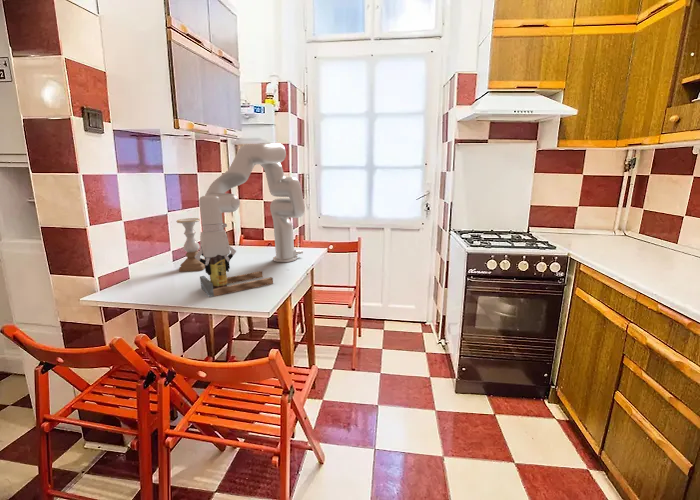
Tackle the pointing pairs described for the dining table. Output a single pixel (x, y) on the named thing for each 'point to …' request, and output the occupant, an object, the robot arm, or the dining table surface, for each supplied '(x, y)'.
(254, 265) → the dining table surface
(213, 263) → the sauce bottle
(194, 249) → the candle holder
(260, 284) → the wooden u-shaped frame
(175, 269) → the dining table surface
